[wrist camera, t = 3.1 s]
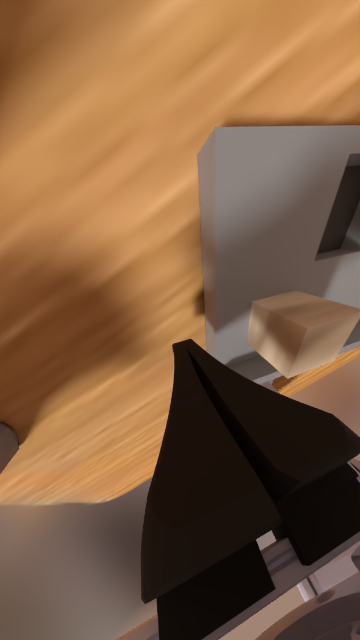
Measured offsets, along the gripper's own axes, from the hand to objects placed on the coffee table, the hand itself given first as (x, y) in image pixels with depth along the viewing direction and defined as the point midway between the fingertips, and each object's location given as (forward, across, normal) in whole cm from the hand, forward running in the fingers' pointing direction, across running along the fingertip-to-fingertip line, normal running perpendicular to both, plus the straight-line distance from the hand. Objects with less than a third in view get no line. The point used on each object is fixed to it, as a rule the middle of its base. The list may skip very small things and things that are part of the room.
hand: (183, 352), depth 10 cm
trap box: (+3, -16, -2) cm, 16 cm away
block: (+1, -8, 0) cm, 8 cm away
